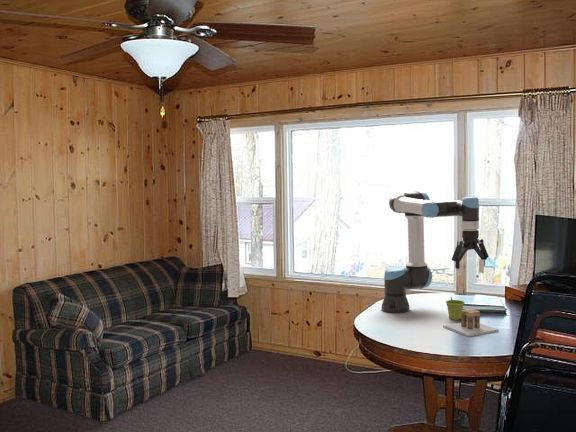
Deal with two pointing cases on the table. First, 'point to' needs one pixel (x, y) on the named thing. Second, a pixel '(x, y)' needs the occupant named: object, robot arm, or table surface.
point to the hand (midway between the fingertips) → (470, 274)
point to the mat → (470, 332)
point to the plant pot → (455, 309)
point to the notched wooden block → (470, 318)
